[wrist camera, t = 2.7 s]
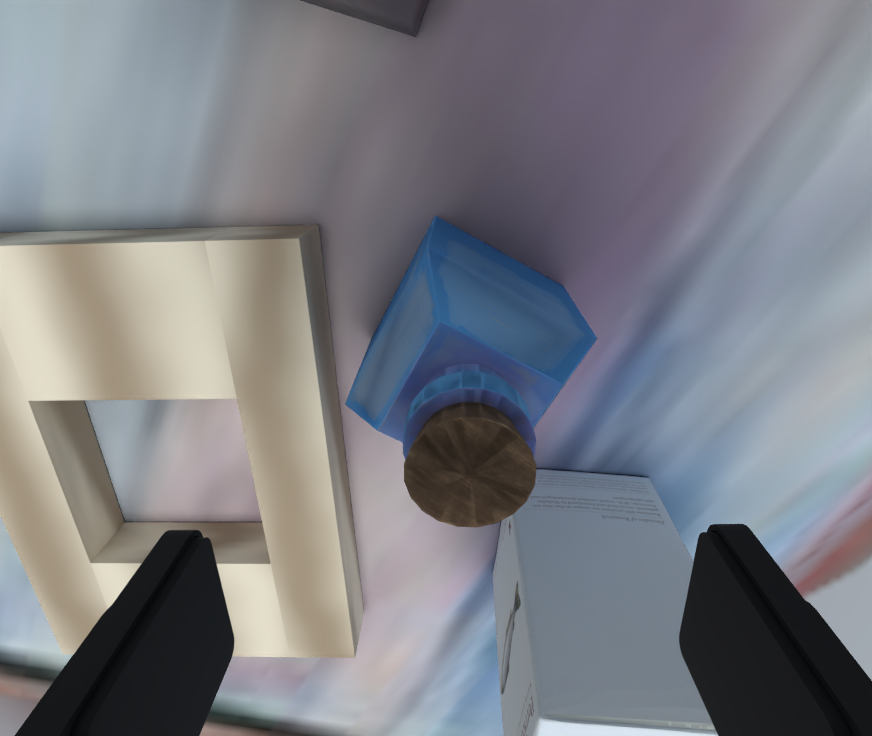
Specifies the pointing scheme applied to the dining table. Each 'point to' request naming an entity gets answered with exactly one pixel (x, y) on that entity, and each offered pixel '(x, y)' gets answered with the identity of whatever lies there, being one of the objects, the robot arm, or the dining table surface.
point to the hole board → (178, 379)
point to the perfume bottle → (468, 374)
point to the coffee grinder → (381, 12)
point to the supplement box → (593, 612)
